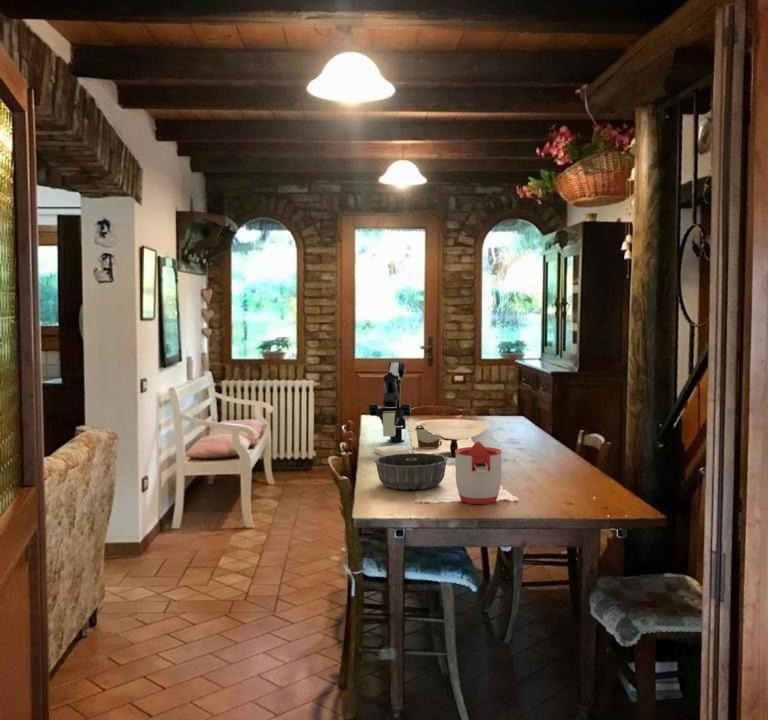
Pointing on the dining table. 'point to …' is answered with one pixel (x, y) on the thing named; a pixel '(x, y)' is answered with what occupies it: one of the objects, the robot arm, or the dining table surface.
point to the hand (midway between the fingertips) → (388, 424)
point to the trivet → (391, 450)
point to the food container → (426, 438)
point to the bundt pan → (411, 470)
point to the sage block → (388, 424)
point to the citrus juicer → (478, 474)
